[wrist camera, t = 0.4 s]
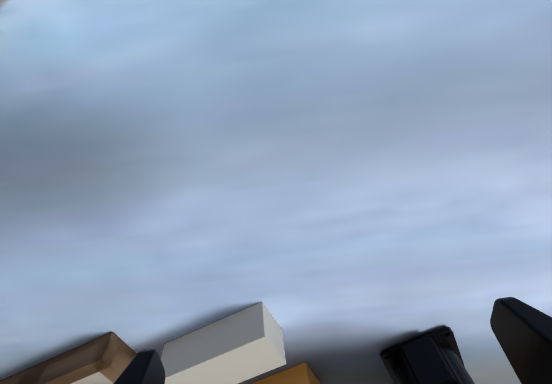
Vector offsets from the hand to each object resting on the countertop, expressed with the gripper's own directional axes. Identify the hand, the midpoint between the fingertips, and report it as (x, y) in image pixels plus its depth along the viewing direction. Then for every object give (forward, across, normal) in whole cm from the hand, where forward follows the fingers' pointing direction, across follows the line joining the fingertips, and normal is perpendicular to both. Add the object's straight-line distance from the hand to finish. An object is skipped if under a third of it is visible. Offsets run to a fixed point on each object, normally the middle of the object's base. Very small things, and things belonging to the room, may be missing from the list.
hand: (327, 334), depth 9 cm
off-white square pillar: (+14, +6, +15) cm, 22 cm away
